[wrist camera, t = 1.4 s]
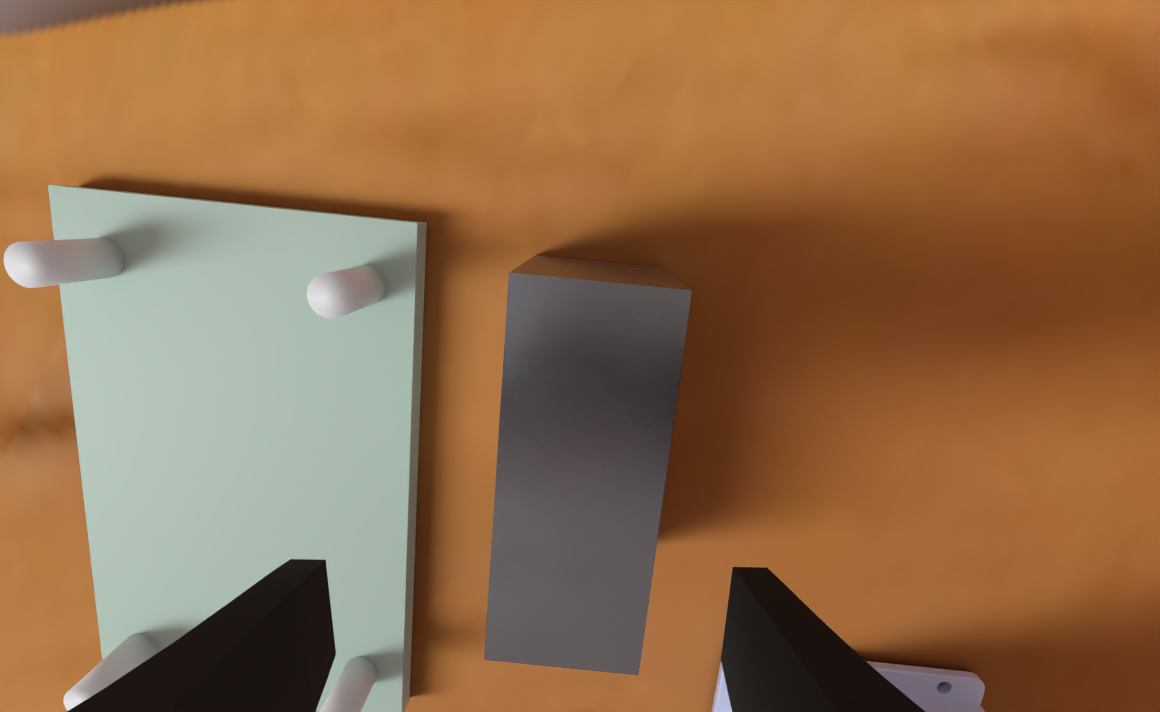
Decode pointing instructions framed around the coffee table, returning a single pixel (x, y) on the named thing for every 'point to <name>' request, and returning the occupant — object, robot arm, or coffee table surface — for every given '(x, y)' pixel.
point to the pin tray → (241, 417)
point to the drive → (582, 459)
